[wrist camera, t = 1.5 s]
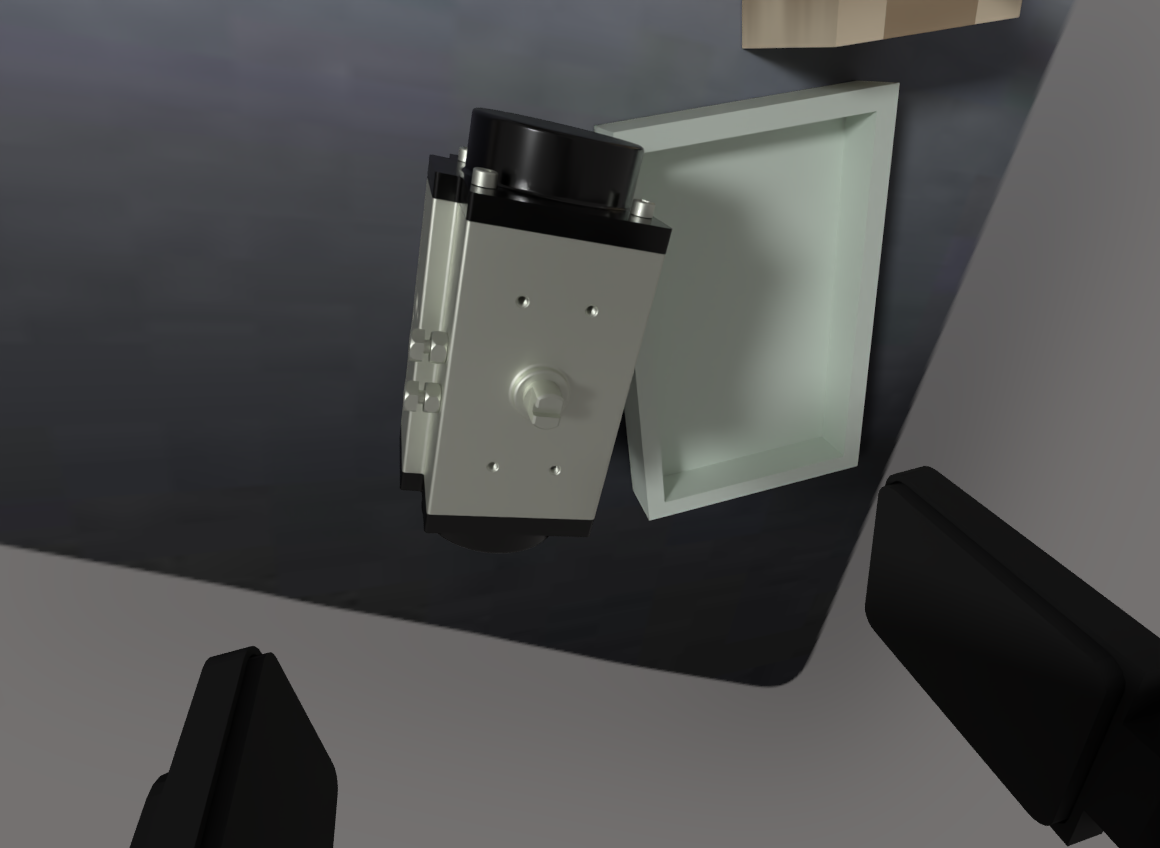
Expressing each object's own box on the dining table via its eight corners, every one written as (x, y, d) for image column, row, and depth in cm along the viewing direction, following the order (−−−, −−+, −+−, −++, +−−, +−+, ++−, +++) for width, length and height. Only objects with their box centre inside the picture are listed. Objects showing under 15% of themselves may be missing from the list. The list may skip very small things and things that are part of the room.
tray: (593, 125, 24) (612, 132, 22) (857, 80, 25) (899, 82, 23) (632, 489, 32) (649, 520, 30) (828, 440, 34) (857, 465, 32)
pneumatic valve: (576, 120, 24) (712, 171, 14) (521, 408, 29) (589, 602, 19) (419, 84, 22) (439, 111, 12) (389, 397, 27) (385, 603, 17)
